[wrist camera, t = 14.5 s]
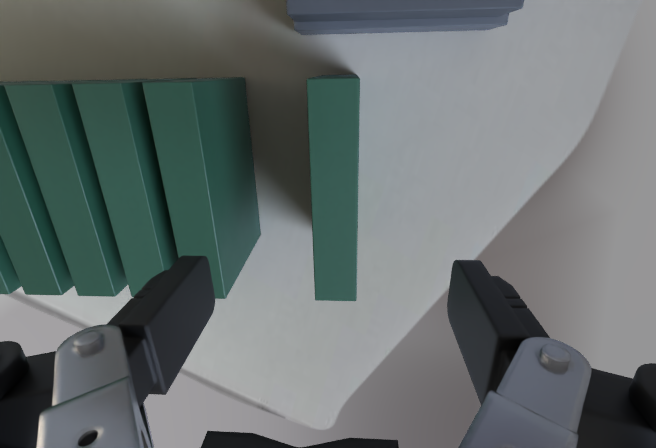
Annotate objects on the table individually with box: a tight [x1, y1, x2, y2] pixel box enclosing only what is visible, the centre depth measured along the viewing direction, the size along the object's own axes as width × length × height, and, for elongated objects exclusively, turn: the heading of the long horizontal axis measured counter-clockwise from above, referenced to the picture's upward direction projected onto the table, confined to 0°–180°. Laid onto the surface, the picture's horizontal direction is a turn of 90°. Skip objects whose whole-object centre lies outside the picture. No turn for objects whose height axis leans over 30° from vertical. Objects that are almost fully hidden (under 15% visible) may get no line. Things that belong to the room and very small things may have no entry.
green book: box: [307, 75, 360, 301], centre depth 23 cm, size 2×12×9 cm, turn 1°
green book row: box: [0, 77, 261, 299], centre depth 24 cm, size 23×12×9 cm, turn 91°
